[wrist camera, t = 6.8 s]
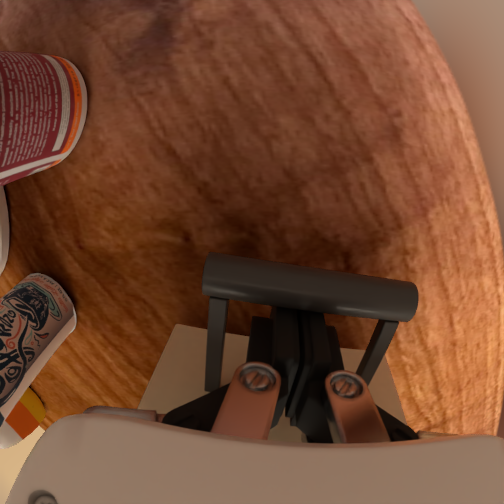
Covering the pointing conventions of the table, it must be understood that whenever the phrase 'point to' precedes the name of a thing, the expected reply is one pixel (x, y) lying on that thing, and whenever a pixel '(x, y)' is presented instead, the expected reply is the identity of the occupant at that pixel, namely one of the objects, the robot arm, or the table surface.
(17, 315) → the beer can
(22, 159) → the pill bottle
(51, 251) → the table surface
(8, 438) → the candy corn
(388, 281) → the drawer
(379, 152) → the table surface
